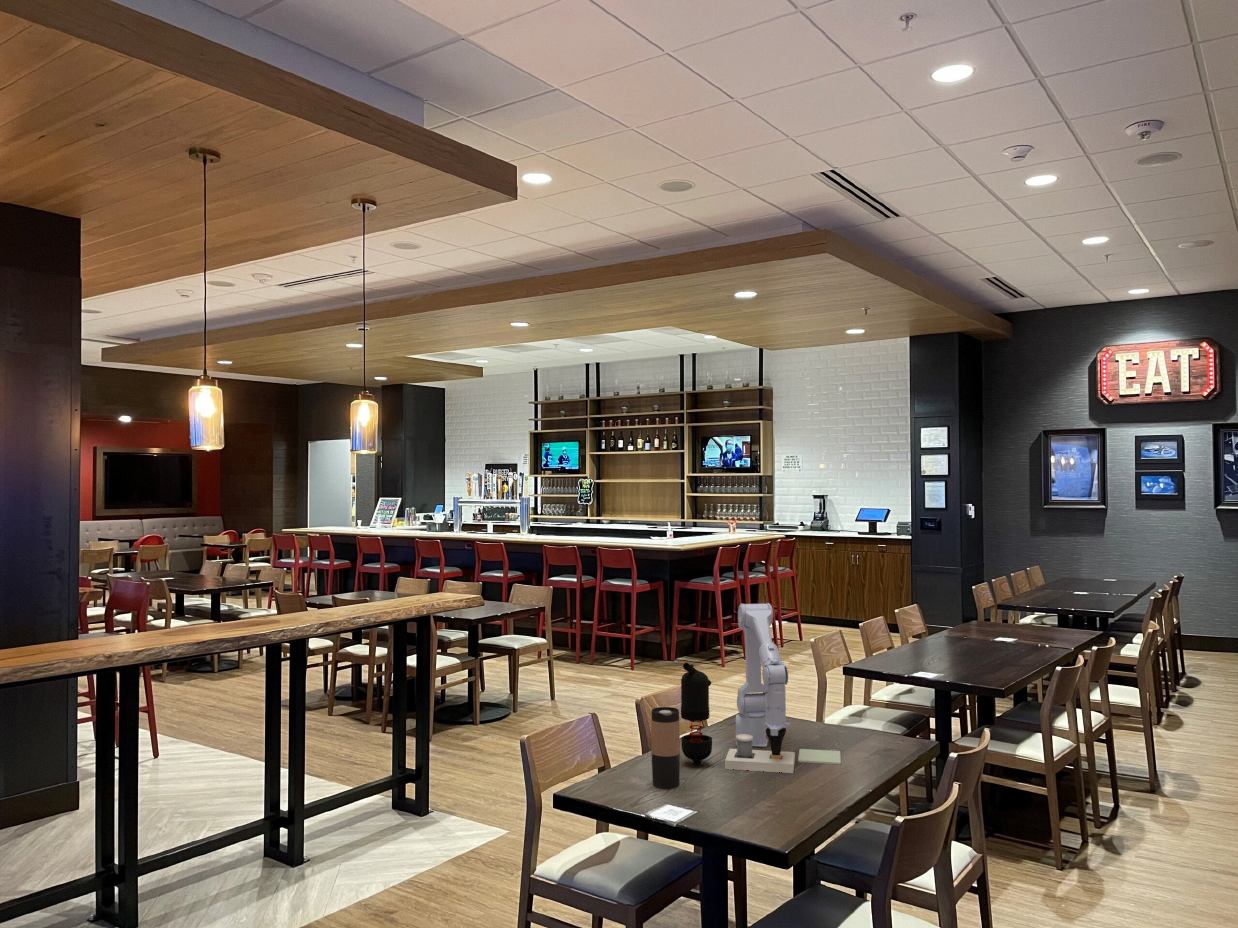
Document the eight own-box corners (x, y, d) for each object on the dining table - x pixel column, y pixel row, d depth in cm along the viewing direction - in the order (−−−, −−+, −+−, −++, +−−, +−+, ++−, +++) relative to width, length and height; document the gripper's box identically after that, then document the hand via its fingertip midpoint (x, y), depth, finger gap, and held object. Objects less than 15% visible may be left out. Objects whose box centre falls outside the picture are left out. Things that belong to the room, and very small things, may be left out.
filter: (700, 771, 254) (699, 664, 255) (673, 766, 260) (672, 661, 260) (724, 760, 265) (723, 657, 266) (697, 754, 270) (696, 654, 271)
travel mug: (663, 778, 249) (662, 705, 249) (685, 783, 244) (685, 709, 244) (646, 785, 243) (645, 710, 243) (669, 791, 238) (668, 714, 238)
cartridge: (735, 765, 260) (735, 737, 260) (737, 761, 264) (736, 733, 264) (752, 766, 258) (752, 738, 259) (753, 762, 263) (753, 734, 263)
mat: (798, 761, 263) (798, 760, 263) (799, 750, 274) (799, 748, 274) (840, 764, 260) (840, 762, 260) (840, 752, 272) (840, 750, 272)
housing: (725, 768, 257) (725, 760, 257) (729, 756, 268) (729, 748, 268) (793, 773, 252) (793, 764, 252) (794, 760, 264) (794, 752, 264)
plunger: (771, 764, 258) (770, 755, 258) (771, 761, 261) (771, 752, 261) (780, 764, 258) (780, 755, 258) (781, 761, 260) (781, 753, 260)
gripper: (788, 713, 252) (789, 762, 251) (790, 701, 266) (791, 748, 265) (762, 712, 253) (763, 761, 253) (766, 700, 268) (767, 746, 267)
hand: (776, 754), depth 259 cm, fingers closed, pressing on plunger
